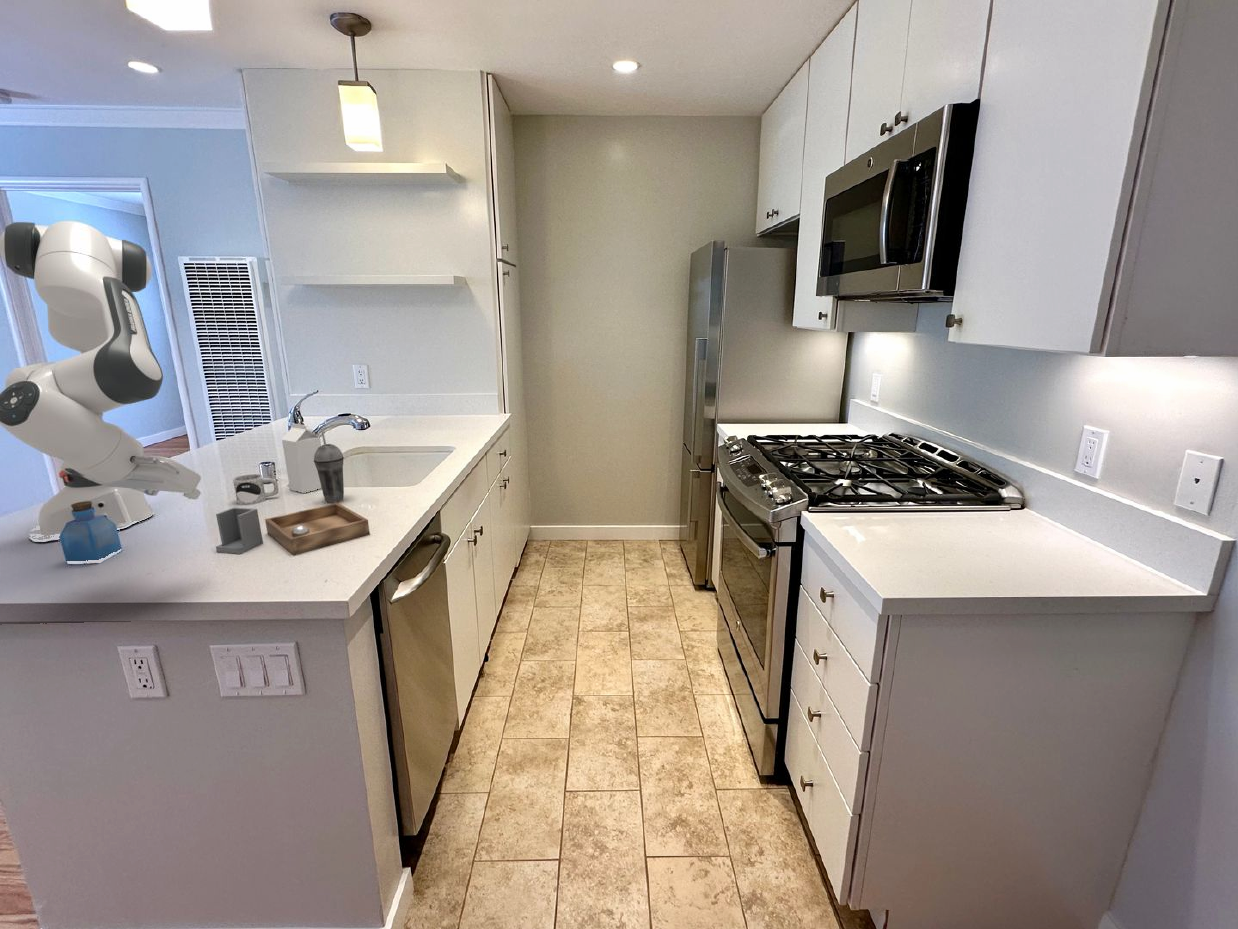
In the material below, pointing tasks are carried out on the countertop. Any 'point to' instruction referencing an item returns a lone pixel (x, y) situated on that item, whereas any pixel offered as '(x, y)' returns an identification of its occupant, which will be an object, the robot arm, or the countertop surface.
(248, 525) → the grey ball display stand
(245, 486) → the mug
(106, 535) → the perfume bottle
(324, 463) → the beverage cup
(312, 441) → the milk carton
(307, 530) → the steel ball
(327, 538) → the walnut tray
